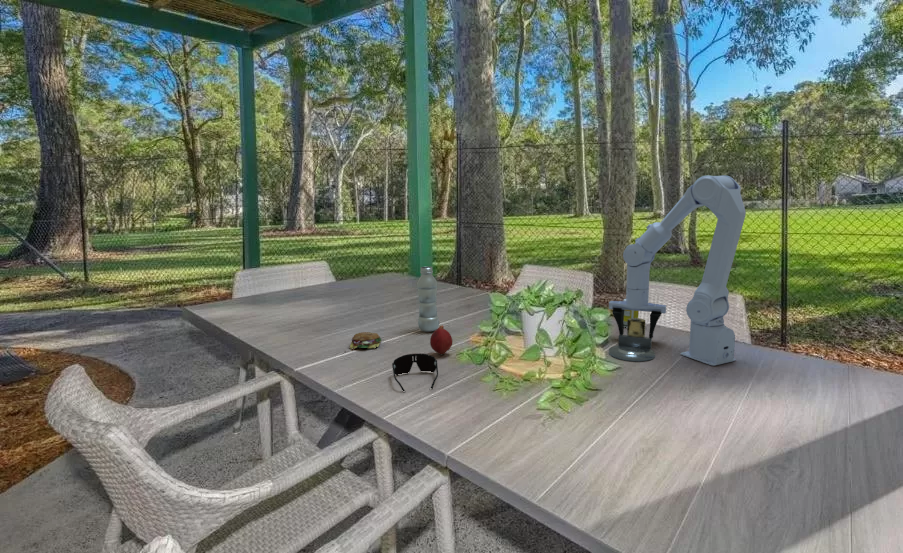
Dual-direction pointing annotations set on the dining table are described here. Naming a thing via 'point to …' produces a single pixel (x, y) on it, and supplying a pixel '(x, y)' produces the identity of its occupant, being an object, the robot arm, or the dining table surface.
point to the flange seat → (633, 349)
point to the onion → (441, 340)
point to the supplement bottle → (629, 315)
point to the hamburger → (365, 340)
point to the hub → (636, 327)
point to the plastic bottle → (427, 300)
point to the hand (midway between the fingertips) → (636, 336)
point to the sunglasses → (406, 362)
